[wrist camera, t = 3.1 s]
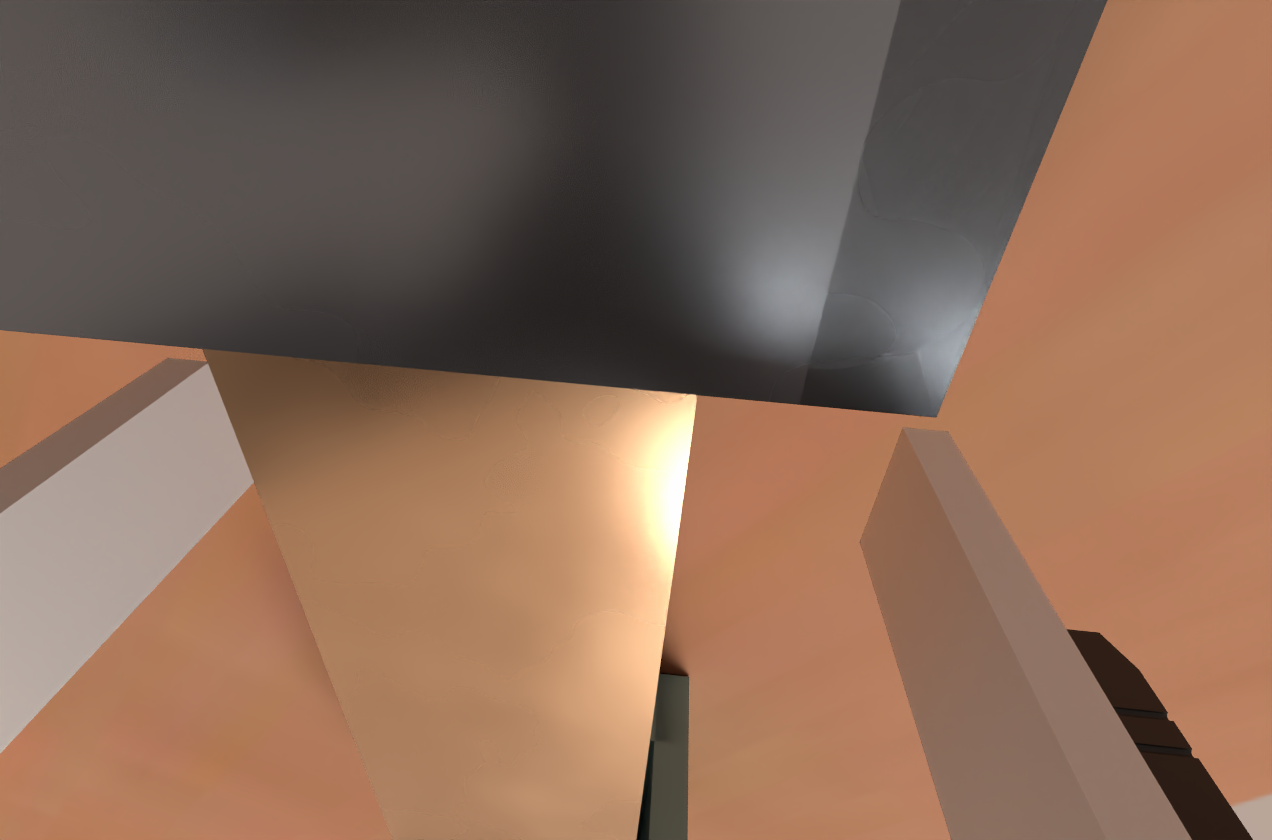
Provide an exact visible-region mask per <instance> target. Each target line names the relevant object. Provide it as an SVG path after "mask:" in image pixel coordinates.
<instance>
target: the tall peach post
mask: <svg viewBox="0 0 1272 840" xmlns="http://www.w3.org/2000/svg"><path fill="white" fill-rule="evenodd" d="M203 352H204V355H205V357H206V360H207V362H208V365H209V367H210V370H211V373H212V375H213V378H214V380H215V383H216V386H217V388H218V391H219V393H220V396H221V398H222V401H223V404H224V406H225V409H226V411H227V414H228V417H229V419H230V422H231V424H232V427H233V429H234V432H235V435H236V437H237V440H238V442H239V445H240V447H241V450H242V453H243V455H244V458H245V460H246V463H247V466H248V468H249V471H250V473H251V476H252V478H253V481H254V484H255V486H256V489H257V491H258V494H259V496H260V499H261V502H262V504H263V507H264V509H265V512H266V515H267V517H268V520H269V522H270V525H271V527H272V530H273V533H274V535H275V538H276V540H277V543H278V546H279V548H280V551H281V553H282V556H283V558H284V561H285V564H286V566H287V569H288V571H289V574H290V576H291V579H292V582H293V584H294V587H295V589H296V592H297V595H298V597H299V600H300V602H301V605H302V607H303V610H304V613H305V615H306V618H307V620H308V623H309V626H310V628H311V631H312V633H313V636H314V638H315V641H316V644H317V646H318V649H319V651H320V654H321V656H322V659H323V662H324V664H325V667H326V669H327V672H328V675H329V677H330V680H331V682H332V685H333V687H334V690H335V693H336V695H337V698H338V700H339V703H340V705H341V708H342V711H343V713H344V716H345V718H346V721H347V724H348V726H349V729H350V731H351V734H352V736H353V739H354V742H355V744H356V747H357V749H358V752H359V755H360V757H361V760H362V762H363V765H364V767H365V770H366V773H367V775H368V778H369V780H370V783H371V785H372V788H373V791H374V793H375V796H376V798H377V801H378V804H379V806H380V809H381V811H382V814H383V816H384V819H385V822H386V824H387V827H388V829H389V832H390V835H391V837H392V840H636V838H637V831H638V824H639V816H640V809H641V802H642V794H643V787H644V780H645V772H646V765H647V758H648V751H649V743H650V736H651V729H652V721H653V714H654V707H655V700H656V692H657V685H658V678H659V670H660V663H661V656H662V648H663V641H664V634H665V627H666V619H667V612H668V605H669V597H670V590H671V583H672V576H673V568H674V561H675V554H676V546H677V539H678V532H679V524H680V517H681V510H682V503H683V495H684V488H685V481H686V473H687V466H688V459H689V451H690V444H691V437H692V430H693V422H694V415H695V408H696V400H697V395H691V394H680V393H670V392H659V391H648V390H638V389H627V388H616V387H605V386H595V385H584V384H573V383H563V382H552V381H541V380H530V379H520V378H509V377H498V376H488V375H477V374H466V373H455V372H445V371H434V370H423V369H413V368H402V367H391V366H380V365H370V364H359V363H348V362H338V361H327V360H316V359H305V358H295V357H284V356H273V355H263V354H252V353H241V352H230V351H220V350H209V349H203Z"/></svg>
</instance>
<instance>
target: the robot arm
mask: <svg viewBox="0 0 1272 840" xmlns="http://www.w3.org/2000/svg"><path fill="white" fill-rule="evenodd" d="M253 483H254V481H253V478H252V476H251V473H250V471H249V468H248V466H247V463H246V460H245V458H244V455H243V453H242V450H241V447H240V445H239V442H238V440H237V437H236V435H235V432H234V429H233V427H232V424H231V422H230V419H229V417H228V414H227V411H226V409H225V406H224V404H223V401H222V398H221V396H220V393H219V391H218V388H217V386H216V383H215V380H214V378H213V375H212V373H211V370H210V367H209V365H208V362H205V361H194V360H184V359H173V358H167V359H165V360H164V361H162V362H161V363H159V364H158V365H156V366H155V367H153V368H152V369H150V370H149V371H147V372H146V373H144V374H143V375H141V376H140V377H138V378H137V379H135V380H134V381H132V382H131V383H129V384H127V385H126V386H124V387H123V388H121V389H120V390H118V391H117V392H115V393H114V394H112V395H111V396H109V397H108V398H106V399H105V400H103V401H102V402H100V403H99V404H97V405H96V406H94V407H93V408H91V409H90V410H88V411H87V412H85V413H84V414H82V415H80V416H79V417H77V418H76V419H74V420H73V421H71V422H70V423H68V424H67V425H65V426H64V427H62V428H61V429H59V430H58V431H56V432H55V433H53V434H52V435H50V436H49V437H47V438H46V439H44V440H43V441H41V442H40V443H38V444H37V445H35V446H34V447H32V448H30V449H29V450H27V451H26V452H24V453H23V454H21V455H20V456H18V457H17V458H15V459H14V460H12V461H11V462H9V463H8V464H6V465H5V466H3V467H2V468H0V753H1V752H2V751H3V750H4V749H5V748H6V747H7V746H8V745H9V744H10V742H11V741H12V740H13V739H14V738H15V737H16V736H17V735H18V734H19V733H20V732H21V731H22V730H23V729H24V727H25V726H26V725H27V724H28V723H29V722H30V721H31V720H32V719H33V718H34V717H35V716H36V715H37V714H38V712H39V711H40V710H41V709H42V708H43V707H44V706H45V705H46V704H47V703H48V702H49V701H50V700H51V699H52V698H53V696H54V695H55V694H56V693H57V692H58V691H59V690H60V689H61V688H62V687H63V686H64V685H65V684H66V683H67V681H68V680H69V679H70V678H71V677H72V676H73V675H74V674H75V673H76V672H77V671H78V670H79V669H80V668H81V667H82V665H83V664H84V663H85V662H86V661H87V660H88V659H89V658H90V657H91V656H92V655H93V654H94V653H95V652H96V650H97V649H98V648H99V647H100V646H101V645H102V644H103V643H104V642H105V641H106V640H107V639H108V638H109V637H110V636H111V634H112V633H113V632H114V631H115V630H116V629H117V628H118V627H119V626H120V625H121V624H122V623H123V622H124V621H125V619H126V618H127V617H128V616H129V615H130V614H131V613H132V612H133V611H134V610H135V609H136V608H137V607H138V606H139V604H140V603H141V602H142V601H143V600H144V599H145V598H146V597H147V596H148V595H149V594H150V593H151V592H152V591H153V590H154V588H155V587H156V586H157V585H158V584H159V583H160V582H161V581H162V580H163V579H164V578H165V577H166V576H167V575H168V573H169V572H170V571H171V570H172V569H173V568H174V567H175V566H176V565H177V564H178V563H179V562H180V561H181V560H182V559H183V557H184V556H185V555H186V554H187V553H188V552H189V551H190V550H191V549H192V548H193V547H194V546H195V545H196V544H197V542H198V541H199V540H200V539H201V538H202V537H203V536H204V535H205V534H206V533H207V532H208V531H209V530H210V529H211V528H212V526H213V525H214V524H215V523H216V522H217V521H218V520H219V519H220V518H221V517H222V516H223V515H224V514H225V513H226V511H227V510H228V509H229V508H230V507H231V506H232V505H233V504H234V503H235V502H236V501H237V500H238V499H239V498H240V497H241V495H242V494H243V493H244V492H245V491H246V490H247V489H248V488H249V487H250V486H251V485H252V484H253ZM860 544H861V548H862V551H863V554H864V557H865V561H866V564H867V567H868V570H869V574H870V577H871V580H872V583H873V587H874V590H875V593H876V596H877V600H878V603H879V606H880V609H881V613H882V616H883V619H884V622H885V626H886V629H887V632H888V635H889V639H890V642H891V645H892V648H893V652H894V655H895V658H896V661H897V665H898V668H899V671H900V674H901V678H902V681H903V684H904V687H905V691H906V694H907V697H908V700H909V704H910V707H911V710H912V713H913V717H914V720H915V723H916V726H917V730H918V733H919V736H920V740H921V743H922V746H923V749H924V753H925V756H926V759H927V762H928V766H929V769H930V772H931V775H932V779H933V782H934V785H935V788H936V792H937V795H938V798H939V801H940V805H941V808H942V811H943V814H944V818H945V821H946V824H947V827H948V831H949V834H950V837H951V840H1253V839H1252V838H1251V836H1250V835H1249V833H1248V832H1247V830H1246V829H1245V827H1244V826H1243V824H1242V823H1241V821H1240V820H1239V818H1238V817H1237V815H1236V814H1235V813H1234V811H1233V809H1232V808H1231V806H1230V805H1229V803H1228V802H1227V800H1226V799H1225V797H1224V796H1223V794H1222V793H1221V791H1220V790H1219V788H1218V787H1217V785H1216V784H1215V782H1214V781H1213V779H1212V778H1211V776H1210V775H1209V773H1208V772H1207V770H1206V769H1205V767H1204V766H1203V765H1202V763H1201V762H1200V760H1199V759H1198V758H1194V757H1193V756H1192V754H1191V750H1192V748H1191V747H1190V745H1189V744H1188V742H1187V741H1186V739H1185V738H1184V736H1183V735H1182V733H1181V732H1180V730H1179V729H1178V727H1177V726H1176V724H1175V723H1174V721H1169V720H1168V718H1167V713H1168V712H1167V711H1166V709H1165V708H1164V706H1163V705H1162V703H1161V702H1160V700H1159V699H1158V697H1157V696H1156V694H1155V693H1154V691H1153V690H1152V688H1151V687H1150V685H1149V684H1148V683H1147V681H1146V680H1145V678H1144V677H1143V675H1142V674H1141V672H1140V671H1139V669H1137V668H1136V667H1135V666H1134V665H1133V664H1132V663H1131V662H1130V661H1129V660H1128V659H1127V658H1126V657H1125V656H1124V655H1122V654H1121V653H1120V652H1119V651H1118V650H1117V649H1116V648H1115V647H1114V646H1113V645H1112V644H1111V643H1110V642H1108V641H1107V640H1106V639H1105V638H1104V637H1103V636H1102V635H1101V634H1100V633H1097V632H1087V631H1078V630H1068V629H1066V628H1065V626H1064V625H1063V623H1062V621H1061V620H1060V618H1059V616H1058V615H1057V613H1056V611H1055V610H1054V608H1053V606H1052V605H1051V603H1050V601H1049V600H1048V598H1047V596H1046V595H1045V593H1044V591H1043V589H1042V588H1041V586H1040V584H1039V583H1038V581H1037V579H1036V578H1035V576H1034V574H1033V573H1032V571H1031V569H1030V568H1029V566H1028V564H1027V563H1026V561H1025V559H1024V558H1023V556H1022V554H1021V553H1020V551H1019V549H1018V548H1017V546H1016V544H1015V543H1014V541H1013V539H1012V538H1011V536H1010V534H1009V533H1008V531H1007V529H1006V528H1005V526H1004V524H1003V523H1002V521H1001V519H1000V517H999V516H998V514H997V512H996V511H995V509H994V507H993V506H992V504H991V502H990V501H989V499H988V497H987V496H986V494H985V492H984V491H983V489H982V487H981V486H980V484H979V482H978V481H977V479H976V477H975V476H974V474H973V472H972V471H971V469H970V467H969V466H968V464H967V462H966V461H965V459H964V457H963V456H962V454H961V452H960V451H959V449H958V447H957V445H956V444H955V442H954V440H953V439H952V437H951V435H950V434H949V432H947V431H936V430H926V429H915V428H904V427H903V428H902V431H901V434H900V436H899V439H898V442H897V444H896V447H895V450H894V452H893V455H892V458H891V460H890V463H889V466H888V468H887V471H886V474H885V476H884V479H883V482H882V484H881V487H880V490H879V492H878V495H877V498H876V500H875V503H874V506H873V508H872V511H871V514H870V516H869V519H868V522H867V524H866V527H865V530H864V532H863V535H862V538H861V540H860Z"/></svg>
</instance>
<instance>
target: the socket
mask: <svg viewBox="0 0 1272 840" xmlns="http://www.w3.org/2000/svg"><path fill="white" fill-rule="evenodd" d="M688 728H689V677H686V676H677V675H668V674H659V678H658V685H657V692H656V700H655V707H654V714H653V721H652V729H651V736H650V743H649V751H648V758H647V765H646V772H645V780H644V787H643V794H642V802H641V809H640V816H639V824H638V831H637V838H636V840H687V825H688Z"/></svg>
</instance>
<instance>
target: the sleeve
mask: <svg viewBox="0 0 1272 840" xmlns="http://www.w3.org/2000/svg"><path fill="white" fill-rule="evenodd" d="M1106 2H1107V0H0V330H5V331H16V332H27V333H38V334H48V335H59V336H70V337H80V338H91V339H102V340H113V341H123V342H134V343H145V344H155V345H166V346H177V347H188V348H198V349H209V350H220V351H230V352H241V353H252V354H263V355H273V356H284V357H295V358H305V359H316V360H327V361H338V362H348V363H359V364H370V365H380V366H391V367H402V368H413V369H423V370H434V371H445V372H455V373H466V374H477V375H488V376H498V377H509V378H520V379H530V380H541V381H552V382H563V383H573V384H584V385H595V386H605V387H616V388H627V389H638V390H648V391H659V392H670V393H680V394H691V395H702V396H713V397H723V398H734V399H745V400H755V401H766V402H777V403H788V404H798V405H809V406H820V407H830V408H841V409H852V410H863V411H873V412H884V413H895V414H905V415H916V416H927V417H937V414H938V412H939V410H940V407H941V405H942V402H943V400H944V397H945V395H946V392H947V390H948V388H949V385H950V383H951V380H952V378H953V375H954V373H955V370H956V368H957V366H958V363H959V361H960V358H961V356H962V353H963V351H964V349H965V346H966V344H967V341H968V339H969V336H970V334H971V331H972V329H973V327H974V324H975V322H976V319H977V317H978V314H979V312H980V310H981V307H982V305H983V302H984V300H985V297H986V295H987V292H988V290H989V288H990V285H991V283H992V280H993V278H994V275H995V273H996V271H997V268H998V266H999V263H1000V261H1001V258H1002V256H1003V253H1004V251H1005V249H1006V246H1007V244H1008V241H1009V239H1010V236H1011V234H1012V231H1013V229H1014V227H1015V224H1016V222H1017V219H1018V217H1019V214H1020V212H1021V210H1022V207H1023V205H1024V202H1025V200H1026V197H1027V195H1028V192H1029V190H1030V188H1031V185H1032V183H1033V180H1034V178H1035V175H1036V173H1037V171H1038V168H1039V166H1040V163H1041V161H1042V158H1043V156H1044V153H1045V151H1046V149H1047V146H1048V144H1049V141H1050V139H1051V136H1052V134H1053V131H1054V129H1055V127H1056V124H1057V122H1058V119H1059V117H1060V114H1061V112H1062V110H1063V107H1064V105H1065V102H1066V100H1067V97H1068V95H1069V92H1070V90H1071V88H1072V85H1073V83H1074V80H1075V78H1076V75H1077V73H1078V71H1079V68H1080V66H1081V63H1082V61H1083V58H1084V56H1085V53H1086V51H1087V49H1088V46H1089V44H1090V41H1091V39H1092V36H1093V34H1094V31H1095V29H1096V27H1097V24H1098V22H1099V19H1100V17H1101V14H1102V12H1103V10H1104V7H1105V5H1106Z"/></svg>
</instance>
